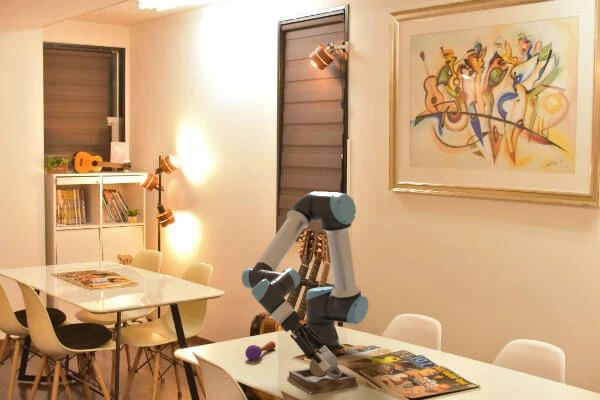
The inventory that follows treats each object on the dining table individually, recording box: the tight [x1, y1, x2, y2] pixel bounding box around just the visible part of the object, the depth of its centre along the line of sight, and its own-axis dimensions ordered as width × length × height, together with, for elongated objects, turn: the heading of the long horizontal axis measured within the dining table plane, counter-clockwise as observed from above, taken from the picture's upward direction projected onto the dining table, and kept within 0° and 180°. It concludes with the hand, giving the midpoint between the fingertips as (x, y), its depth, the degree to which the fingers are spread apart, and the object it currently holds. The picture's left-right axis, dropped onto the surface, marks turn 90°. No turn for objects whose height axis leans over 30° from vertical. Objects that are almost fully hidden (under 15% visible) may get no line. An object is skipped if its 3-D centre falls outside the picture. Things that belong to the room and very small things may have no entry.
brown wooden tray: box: [286, 367, 359, 395], centre depth 288 cm, size 18×18×3 cm
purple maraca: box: [245, 340, 277, 362], centre depth 324 cm, size 6×6×20 cm
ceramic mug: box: [309, 351, 342, 379], centre depth 287 cm, size 11×8×8 cm
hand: (330, 365), depth 287 cm, fingers closed on ceramic mug, 9 cm apart
